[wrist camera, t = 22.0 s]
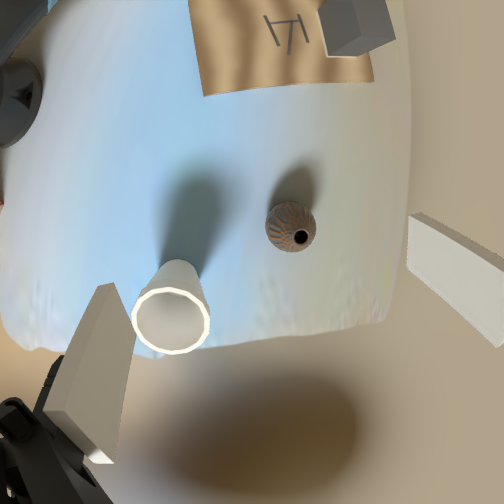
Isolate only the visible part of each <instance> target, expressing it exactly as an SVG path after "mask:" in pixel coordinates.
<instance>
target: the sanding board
mask: <svg viewBox="0 0 504 504" xmlns="http://www.w3.org/2000/svg"><path fill="white" fill-rule="evenodd" d="M326 1H327V0H188V6H189V12H190V18H191V24H192V30H193V37H194V43H195V49H196V55H197V61H198V66H199V72H200V78H201V84H202V90H203V95H204V97H206V96H211V95H217V94H222V93H229V92H235V91H242V90H249V89H257V88H265V87H275V86H285V85H297V84H312V83H337V82H373V81H374V77H373V72H372V67H371V62H370V58H369V53H368V52H367V53H365V54H363V55H360V56H358V57H356V58H343V57H326V54H325V49H324V45H323V40H322V36H321V31H320V27H319V23H318V19H317V15H316V12H317V11H318V10H319V9H320V8H321V7H322V6H323V5H324V3H325V2H326Z"/></svg>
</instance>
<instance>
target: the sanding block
mask: <svg viewBox="0 0 504 504" xmlns="http://www.w3.org/2000/svg"><path fill="white" fill-rule="evenodd" d="M316 15H317V19H318V23H319V27H320V31H321V36H322V40H323V45H324V49H325V54H326V57H343V58H356V57H358V56H360V55H363V54H365V53H367V52H369V51H371V50H373V49H375V48H377V47H379V46H382V45H384V44H386V43H388V42H391V41H393V40H395V39H396V38H395V34H394V30H393V26H392V23H391V19H390V15H389V12H388V9H387V5H386V2H385V0H327V1H326V2H325V3H324V5H323V6H322V7H321V8H320V9H319V10H318V11H317V12H316Z"/></svg>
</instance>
